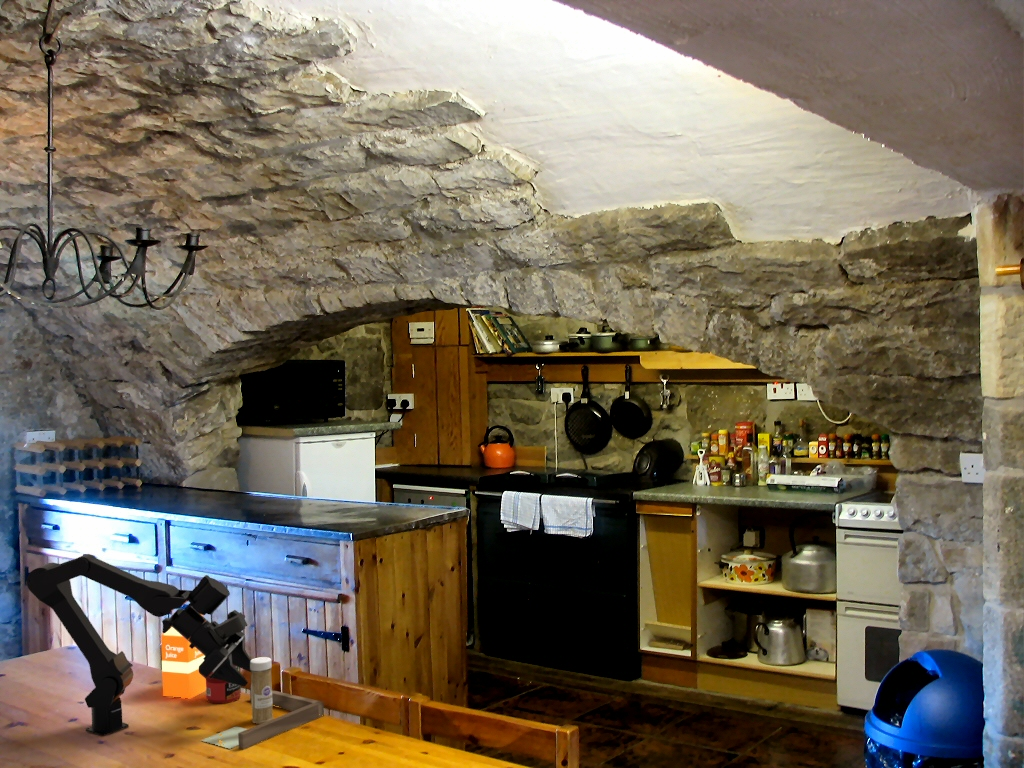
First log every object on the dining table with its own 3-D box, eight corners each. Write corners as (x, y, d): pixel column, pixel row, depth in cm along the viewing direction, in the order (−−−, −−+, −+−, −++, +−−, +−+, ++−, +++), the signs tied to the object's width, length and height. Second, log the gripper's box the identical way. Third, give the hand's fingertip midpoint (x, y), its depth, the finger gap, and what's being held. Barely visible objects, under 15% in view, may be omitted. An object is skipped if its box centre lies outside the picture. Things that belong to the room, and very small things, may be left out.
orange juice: (162, 696, 226) (159, 612, 226) (186, 684, 234) (183, 603, 234) (190, 699, 224) (187, 614, 224) (213, 687, 232) (210, 605, 232)
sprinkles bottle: (263, 725, 204) (261, 663, 204) (247, 722, 206) (245, 661, 206) (278, 719, 208) (275, 657, 208) (262, 716, 210) (260, 655, 210)
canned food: (231, 704, 218) (229, 657, 218) (199, 703, 220) (198, 656, 220) (247, 693, 226) (245, 647, 226) (216, 692, 228) (215, 646, 228)
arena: (168, 731, 203) (167, 717, 203) (255, 699, 222) (255, 686, 222) (237, 752, 190) (237, 737, 190) (323, 715, 209) (323, 702, 209)
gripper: (211, 612, 197) (267, 662, 198) (233, 593, 216) (284, 638, 217) (174, 653, 197) (231, 702, 197) (199, 629, 215) (250, 675, 216)
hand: (251, 677), depth 207 cm, fingers open, 9 cm apart
